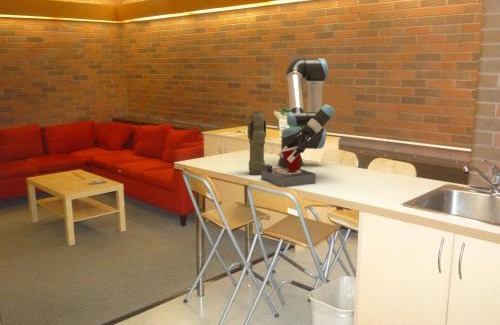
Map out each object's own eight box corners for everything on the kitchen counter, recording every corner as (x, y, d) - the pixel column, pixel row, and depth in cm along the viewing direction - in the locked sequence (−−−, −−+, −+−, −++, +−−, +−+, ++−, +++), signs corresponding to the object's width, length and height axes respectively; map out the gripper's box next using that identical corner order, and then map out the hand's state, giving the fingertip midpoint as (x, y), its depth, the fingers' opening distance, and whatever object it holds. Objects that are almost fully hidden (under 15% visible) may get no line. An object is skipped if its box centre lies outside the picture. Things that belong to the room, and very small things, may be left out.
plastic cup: (280, 172, 258) (277, 149, 257) (299, 168, 261) (295, 146, 260) (288, 172, 247) (284, 149, 247) (307, 168, 251) (304, 145, 250)
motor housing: (261, 178, 263) (261, 164, 261) (292, 175, 272) (293, 161, 270) (282, 187, 244) (282, 171, 242) (315, 183, 253) (315, 168, 251)
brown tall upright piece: (243, 173, 275) (243, 111, 269) (258, 170, 283) (259, 110, 277) (254, 176, 269) (255, 112, 262) (269, 173, 277) (270, 111, 270)
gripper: (326, 137, 246) (297, 167, 244) (306, 131, 269) (280, 159, 268) (316, 126, 243) (288, 157, 242) (297, 121, 267) (271, 150, 265)
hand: (284, 158), depth 255 cm, fingers open, 13 cm apart
